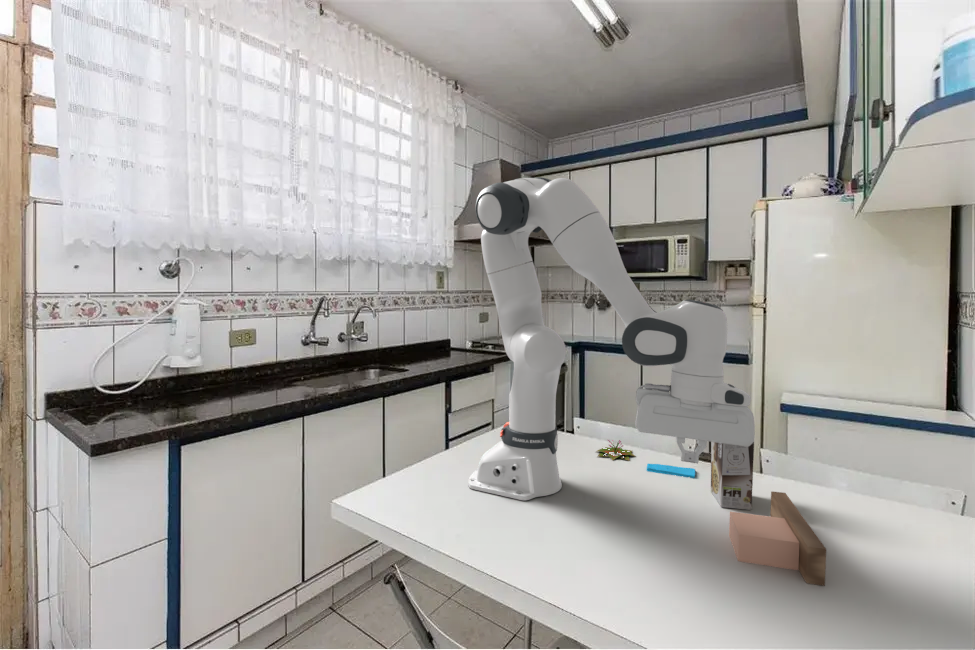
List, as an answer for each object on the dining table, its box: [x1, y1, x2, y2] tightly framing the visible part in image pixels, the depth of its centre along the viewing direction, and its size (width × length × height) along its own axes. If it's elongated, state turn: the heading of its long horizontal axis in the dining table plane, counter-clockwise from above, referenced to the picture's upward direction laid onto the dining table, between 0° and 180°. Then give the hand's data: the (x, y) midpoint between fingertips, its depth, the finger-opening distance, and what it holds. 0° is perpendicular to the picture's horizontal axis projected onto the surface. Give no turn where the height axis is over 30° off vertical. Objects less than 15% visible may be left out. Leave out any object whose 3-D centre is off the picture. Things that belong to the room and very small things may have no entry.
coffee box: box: [710, 441, 755, 511], centre depth 105 cm, size 9×6×16 cm
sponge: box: [646, 463, 696, 479], centre depth 123 cm, size 2×12×6 cm
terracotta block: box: [728, 511, 800, 571], centre depth 84 cm, size 9×9×5 cm
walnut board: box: [769, 490, 827, 587], centre depth 85 cm, size 2×22×6 cm, turn 162°
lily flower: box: [597, 439, 636, 462], centre depth 136 cm, size 12×12×5 cm
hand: (689, 461), depth 88 cm, fingers closed
